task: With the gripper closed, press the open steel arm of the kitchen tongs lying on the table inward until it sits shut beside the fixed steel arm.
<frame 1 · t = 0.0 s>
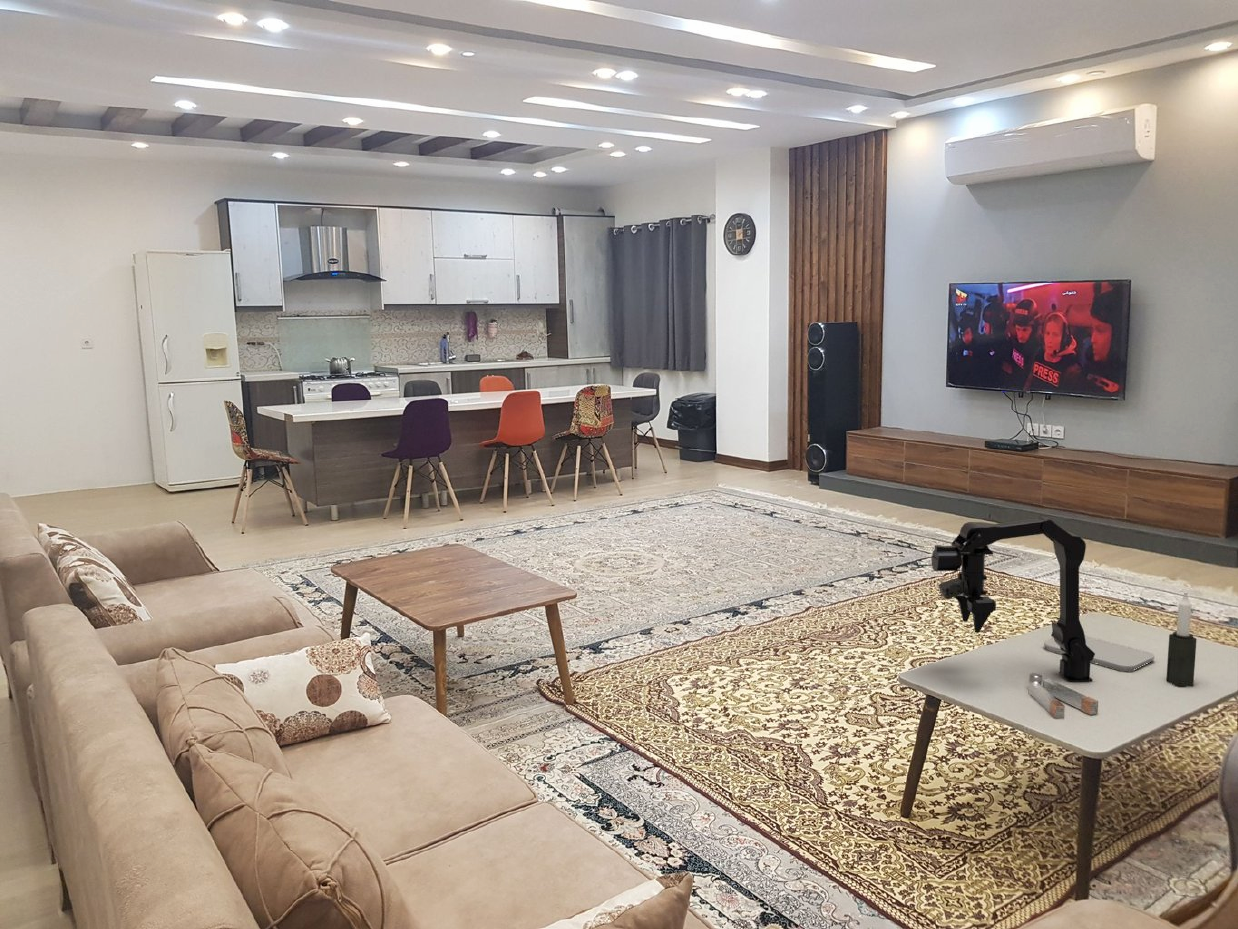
hand: (970, 626, 254), 15 cm above the table, tool pointing down, fingers open, 9 cm apart
tongs arm: (1069, 696, 239), point 2 cm above the table, hinge at 20.0°
candle: (1179, 684, 250), on the table
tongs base: (1035, 689, 248), on the table
tablet: (1097, 657, 272), on the table
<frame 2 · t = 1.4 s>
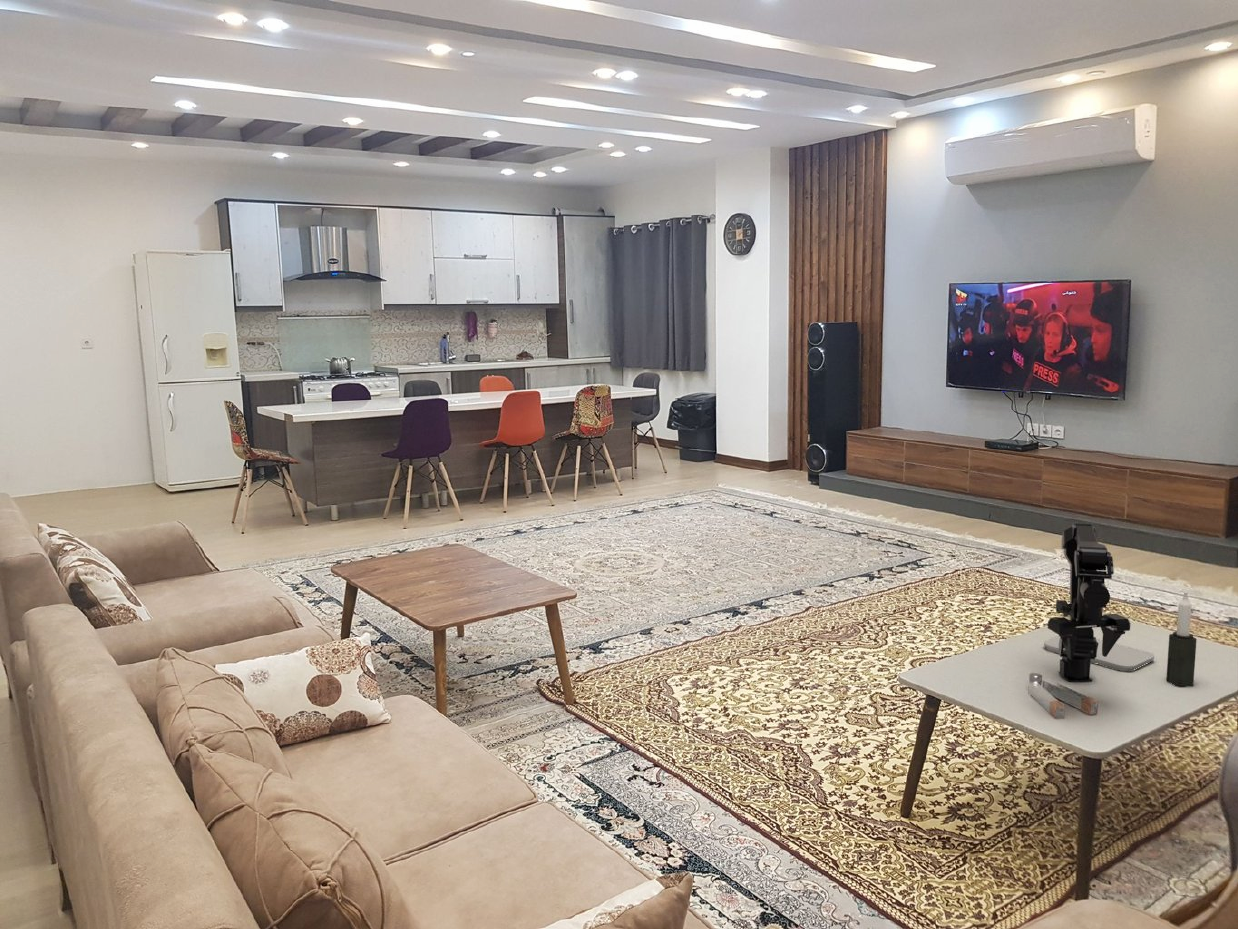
hand: (1087, 657, 235), 13 cm above the table, tool pointing down, fingers open, 9 cm apart
nothing on the table moved.
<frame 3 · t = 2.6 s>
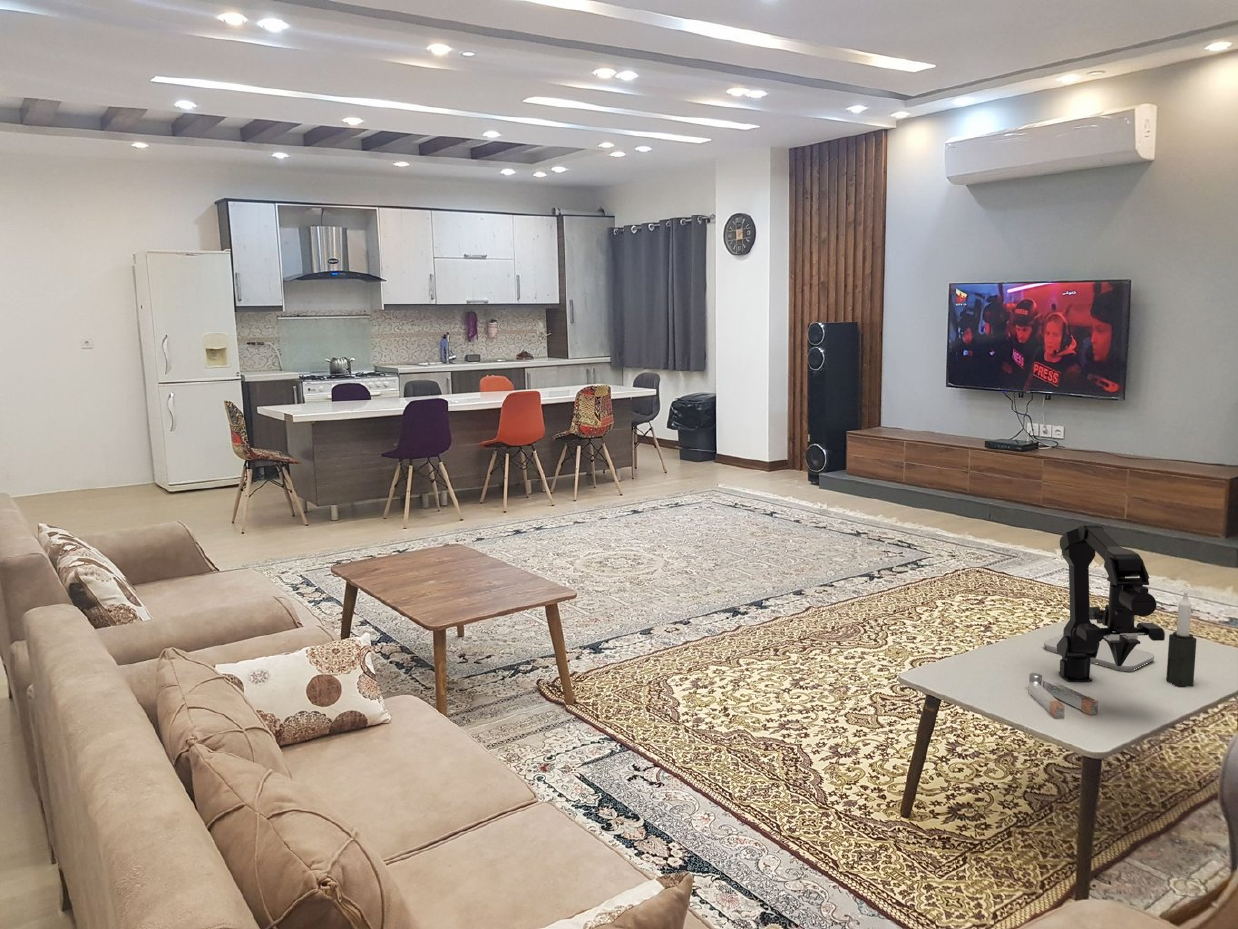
hand: (1118, 665, 231), 12 cm above the table, tool pointing down, fingers closed
nothing on the table moved.
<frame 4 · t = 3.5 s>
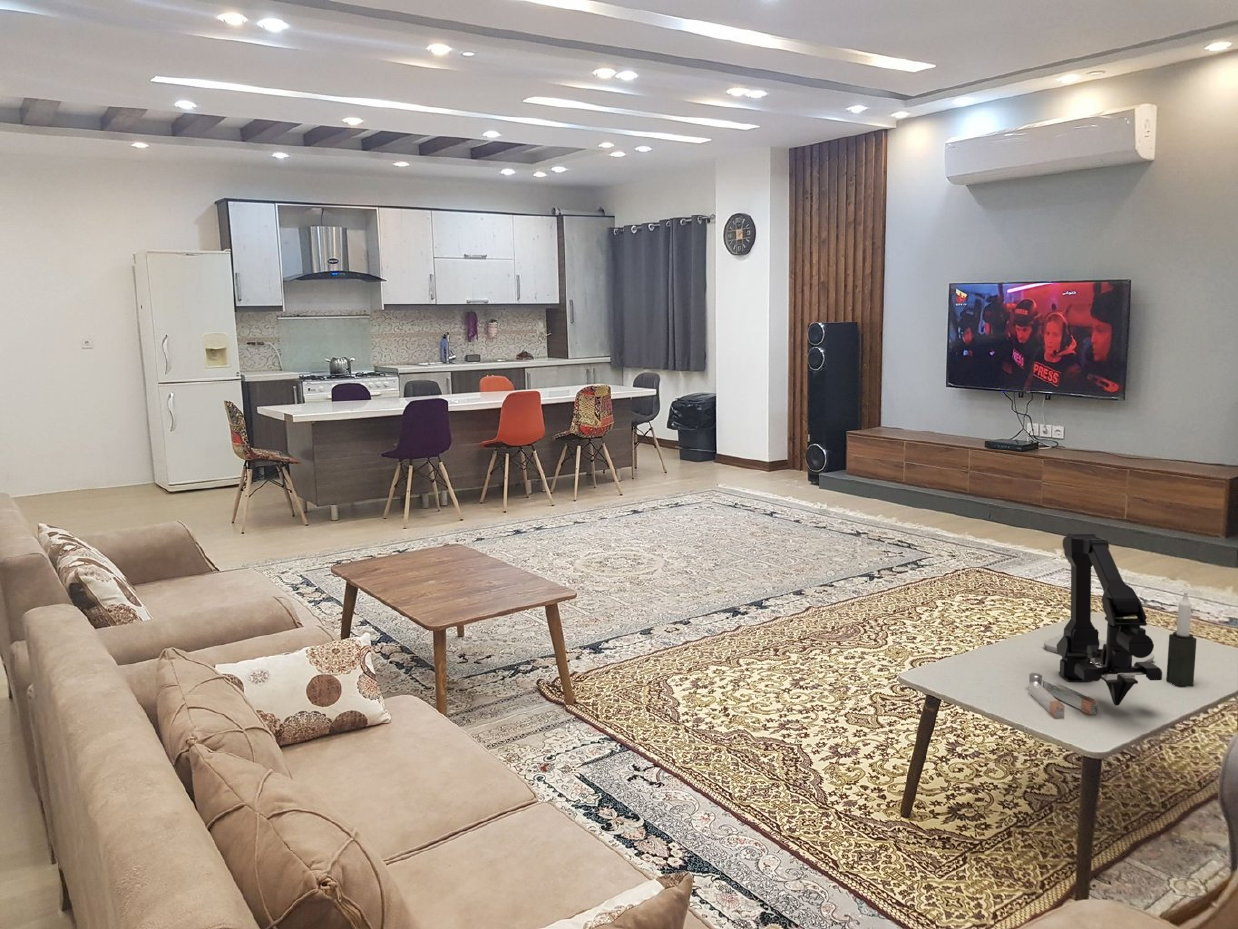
hand: (1116, 704, 232), 2 cm above the table, tool pointing down, fingers closed
nothing on the table moved.
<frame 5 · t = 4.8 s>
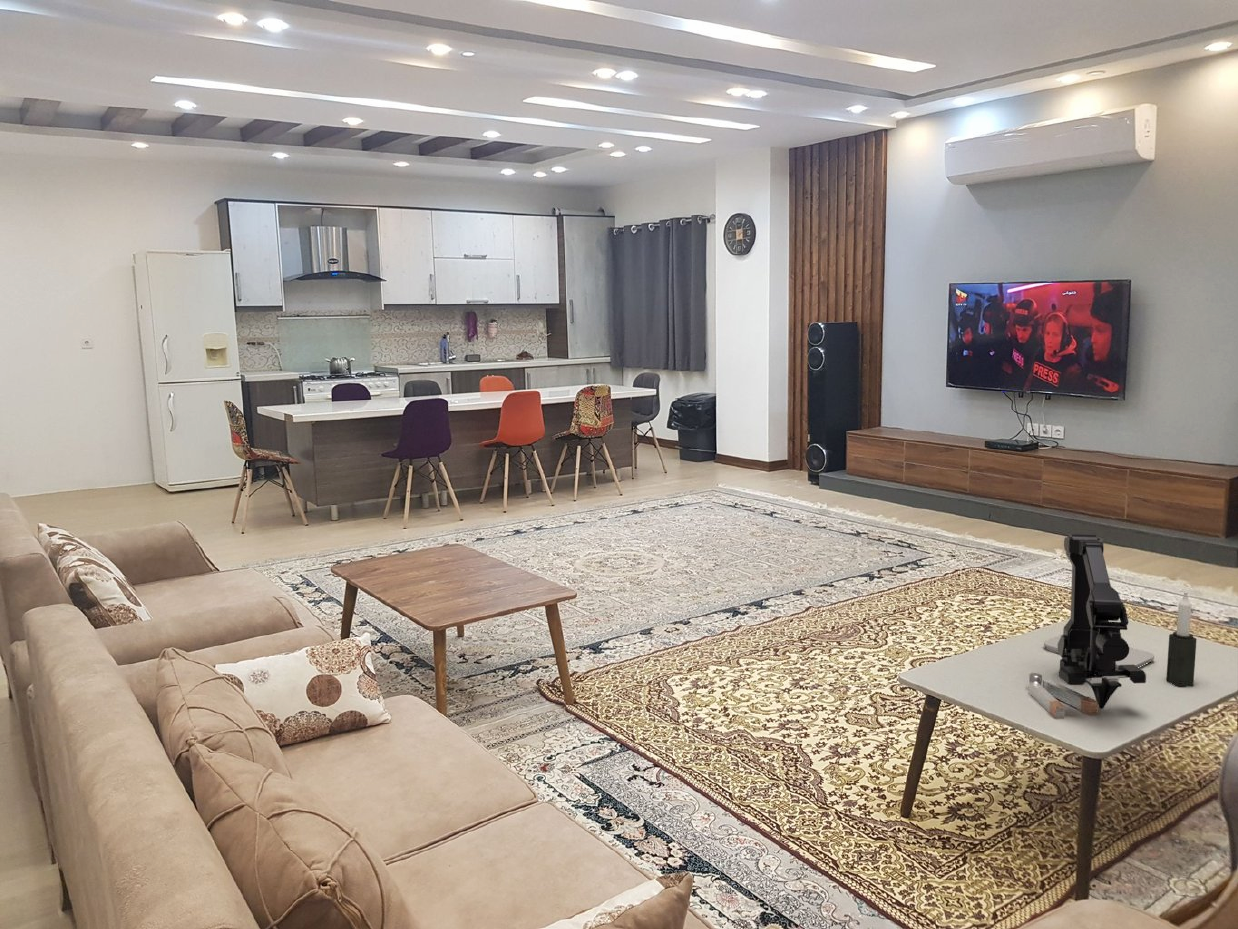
hand: (1100, 708, 232), 1 cm above the table, tool pointing down, fingers closed
tongs arm: (1069, 696, 239), point 2 cm above the table, hinge at 19.3°, touching gripper
everything else where it was.
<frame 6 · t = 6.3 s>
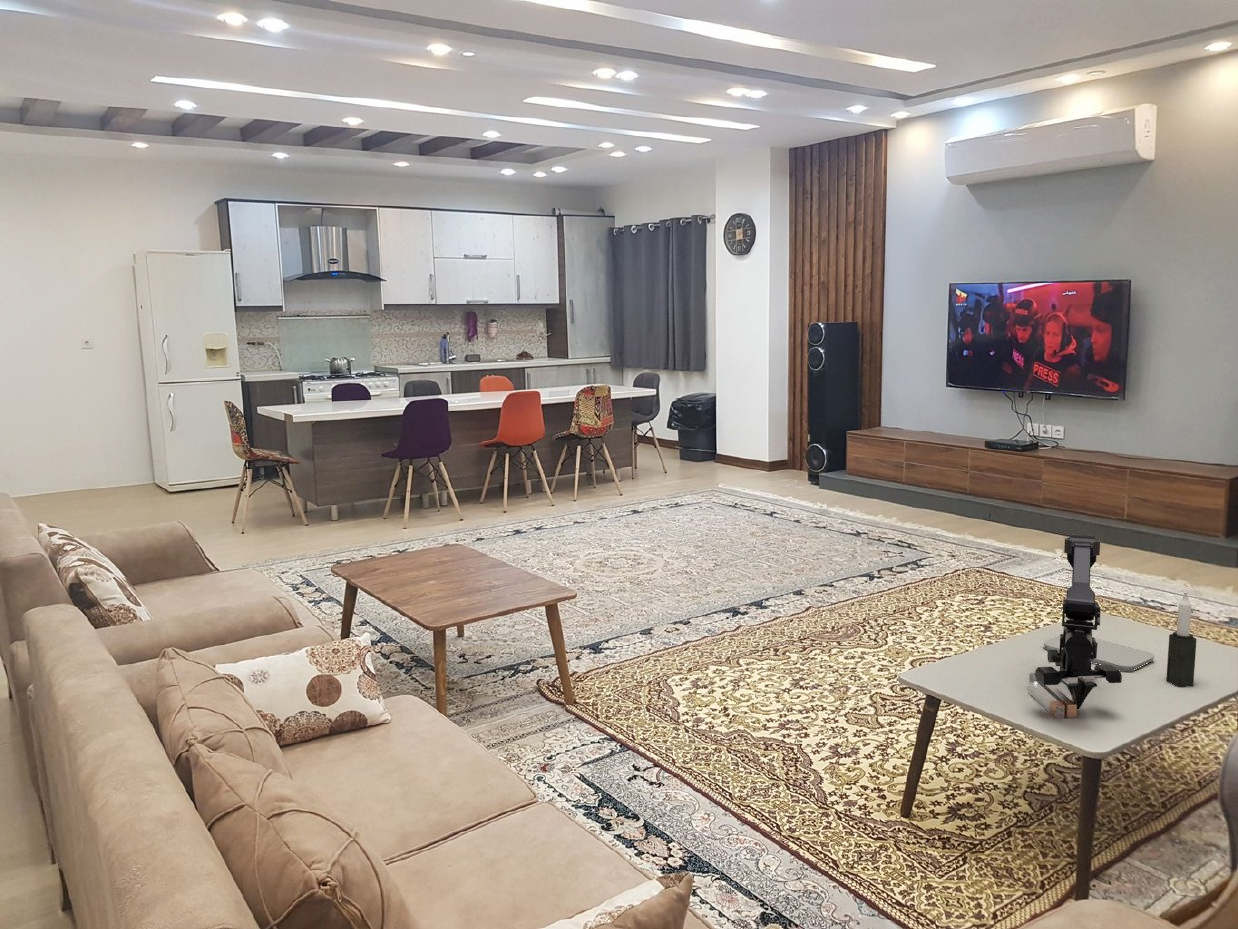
hand: (1077, 708, 232), 1 cm above the table, tool pointing down, fingers closed
tongs arm: (1057, 698, 238), point 2 cm above the table, hinge at -0.4°, touching gripper
everything else where it was.
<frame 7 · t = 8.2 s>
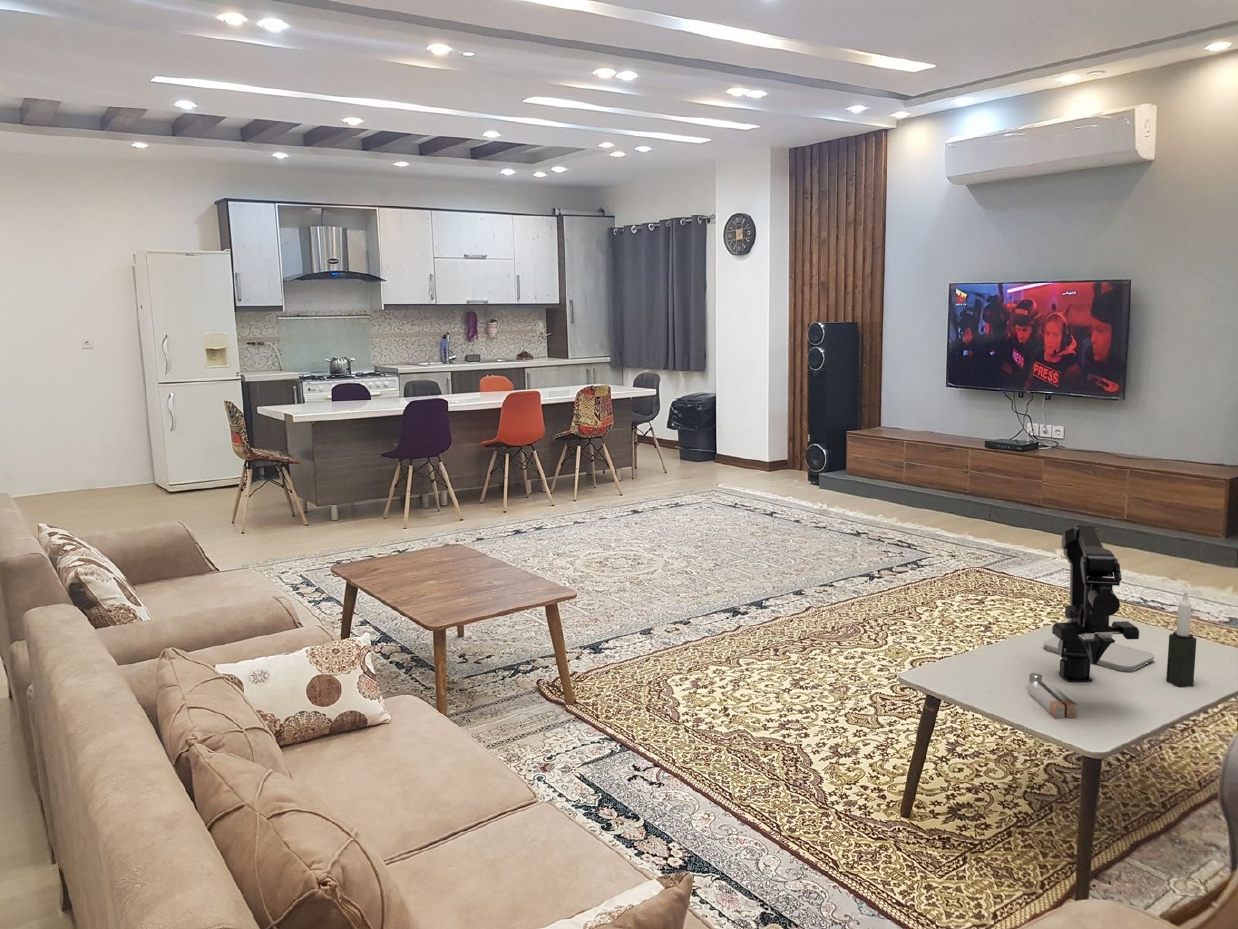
hand: (1093, 664, 233), 12 cm above the table, tool pointing down, fingers closed
tongs arm: (1057, 698, 238), point 2 cm above the table, hinge at -0.4°
everything else where it was.
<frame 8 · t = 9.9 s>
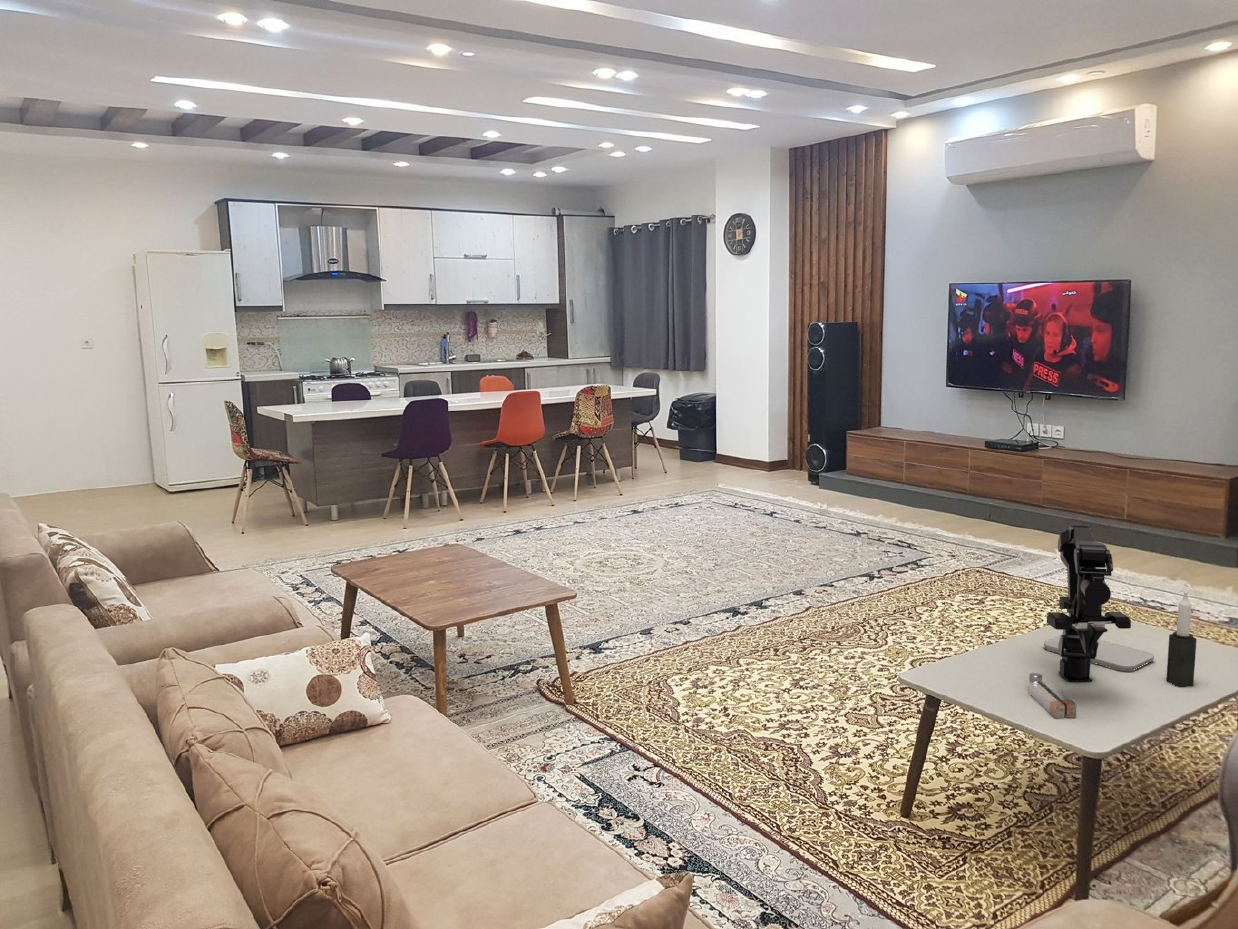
hand: (1086, 653, 240), 12 cm above the table, tool pointing down, fingers closed
nothing on the table moved.
at the end: tongs arm at +0° (first picture: +20°); candle moved 0.2 cm from its start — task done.
